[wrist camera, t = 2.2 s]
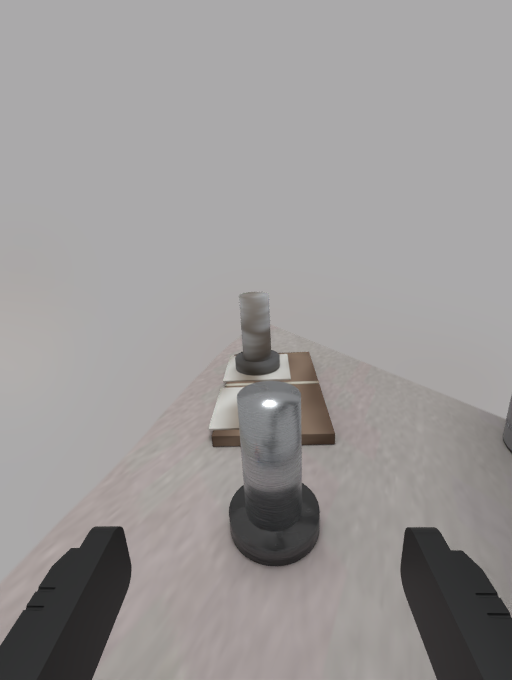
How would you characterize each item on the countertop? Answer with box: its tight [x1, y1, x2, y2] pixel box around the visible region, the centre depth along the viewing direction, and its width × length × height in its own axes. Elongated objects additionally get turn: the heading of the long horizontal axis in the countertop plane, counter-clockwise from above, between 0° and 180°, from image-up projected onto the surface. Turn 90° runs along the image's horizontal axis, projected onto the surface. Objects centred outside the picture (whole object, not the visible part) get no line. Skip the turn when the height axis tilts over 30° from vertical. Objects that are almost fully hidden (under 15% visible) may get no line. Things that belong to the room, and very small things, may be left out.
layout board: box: [209, 292, 335, 447], centre depth 41 cm, size 12×22×12 cm, turn 178°
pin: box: [229, 381, 320, 566], centre depth 22 cm, size 6×6×10 cm
